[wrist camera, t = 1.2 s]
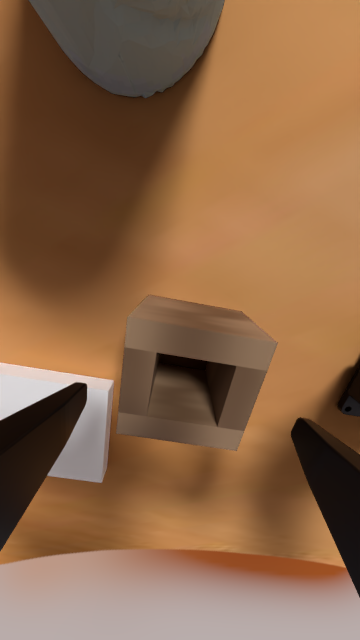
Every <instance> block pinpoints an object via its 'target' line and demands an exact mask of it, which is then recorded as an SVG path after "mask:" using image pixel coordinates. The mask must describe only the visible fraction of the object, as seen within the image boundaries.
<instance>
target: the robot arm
mask: <svg viewBox="0 0 360 640" xmlns="http://www.w3.org/2000/svg"><path fill="white" fill-rule="evenodd" d="M86 402H87V384H86V383H81V382H75V383H73V384H71V385H69V386H67V387H65V388H63V389H61V390H59V391H57V392H55V393H53V394H51V395H49V396H47V397H45V398H43V399H41V400H39V401H37V402H35V403H33V404H31V405H29V406H27V407H26V408H24V409H22V410H20V411H18V412H16V413H14V414H12V415H10V416H8V417H6V418H4V419H2V420H0V551H1V549H2V548H3V546H4V545H5V543H6V541H7V540H8V538H9V536H10V535H11V533H12V532H13V530H14V528H15V527H16V525H17V523H18V522H19V520H20V519H21V517H22V515H23V514H24V512H25V511H26V509H27V507H28V506H29V504H30V502H31V501H32V499H33V498H34V496H35V494H36V493H37V491H38V489H39V488H40V486H41V485H42V483H43V481H44V480H45V478H46V476H47V475H48V473H49V472H50V470H51V468H52V467H53V465H54V463H55V462H56V460H57V459H58V457H59V455H60V454H61V452H62V450H63V449H64V447H65V445H66V443H67V442H68V440H69V438H70V436H71V434H72V432H73V430H74V428H75V426H76V424H77V421H78V419H79V417H80V415H81V413H82V411H83V409H84V407H85V405H86ZM337 407H338V409H339V410H340V411H341V412H342V413H343V414H347V415H354V416H360V366H359V367H358V369H357V371H356V373H355V375H354V376H353V378H352V380H351V382H350V384H349V385H348V387H347V389H346V391H345V393H344V394H343V396H342V398H341V400H340V401H339V403H338V406H337ZM291 438H292V441H293V443H294V446H295V449H296V452H297V454H298V457H299V460H300V463H301V465H302V468H303V471H304V474H305V476H306V479H307V481H308V484H309V486H310V488H311V490H312V493H313V495H314V497H315V499H316V501H317V504H318V506H319V508H320V510H321V513H322V515H323V517H324V519H325V521H326V524H327V526H328V528H329V530H330V533H331V535H332V537H333V539H334V541H335V544H336V546H337V548H338V550H339V553H340V555H341V557H342V559H343V561H344V564H345V566H346V568H347V570H348V572H349V575H350V577H351V579H352V581H353V584H354V586H355V588H356V590H357V592H358V594H359V597H360V455H359V454H358V453H356V452H355V451H354V450H352V449H351V448H349V447H348V446H347V445H345V444H344V443H342V442H341V441H340V440H338V439H337V438H335V437H334V436H333V435H331V434H330V433H328V432H327V431H326V430H324V429H323V428H321V427H320V426H319V425H317V424H316V423H314V422H313V421H312V420H310V419H307V418H301V417H300V418H298V419H297V420H296V422H295V424H294V426H293V429H292V431H291Z"/></svg>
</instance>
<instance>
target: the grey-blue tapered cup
mask: <svg viewBox="0 0 360 640" xmlns="http://www.w3.org/2000/svg"><path fill="white" fill-rule="evenodd" d="M224 1H225V0H29V2H30V3H31V5H32V6H33V8H34V9H35V11H36V12H37V13H38V15H39V16H40V18H41V19H42V21H43V22H44V24H45V25H46V27H47V28H48V30H49V31H50V33H51V34H52V36H53V37H54V39H55V40H56V42H57V43H58V44H59V46H60V47H61V49H62V50H63V52H64V53H65V54H66V55H67V56H68V57H69V59H70V60H71V61H72V62H73V63H74V64H75V65H76V66H77V68H78V69H79V70H80V71H81V72H82V73H83V74H84V75H86V76H87V77H88V78H89V79H91V80H92V81H93V82H94V83H96V84H97V85H99V86H101V87H102V88H104V89H106V90H107V91H109V92H110V93H112V94H118V95H124V96H130V97H138V96H143V97H144V98H147V97H150V96H152V95H153V94H154V93H155V92H156V91H158V92H163V91H164V90H165V89H166V88H168V87H172V86H173V85H174V84H175V83H176V82H177V81H179V80H180V79H181V78H182V76H183V75H185V74H186V73H187V72H188V71H189V70H190V69H191V68H192V67H193V65H194V64H195V62H196V60H197V59H198V58H199V57H200V56H201V55H202V54H203V51H204V48H205V47H206V46H207V45H208V43H209V41H210V38H211V37H212V35H213V33H214V30H215V28H216V25H217V22H218V20H219V17H220V14H221V11H222V9H223V5H224Z"/></svg>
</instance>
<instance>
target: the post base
mask: <svg viewBox="0 0 360 640" xmlns="http://www.w3.org/2000/svg"><path fill="white" fill-rule="evenodd" d="M75 382H81V383H86V384H87V402H86V405H85V407H84V409H83V411H82V413H81V415H80V417H79V419H78V421H77V424H76V426H75V428H74V430H73V432H72V434H71V436H70V438H69V440H68V442H67V443H66V445H65V447H64V449H63V450H62V452H61V454H60V455H59V457H58V459H57V460H56V462H55V463H54V465H53V467H52V468H51V470H50V472H49V473H48V475H47V476H53V477H60V478H68V479H76V480H83V481H91V482H98V483H102V481H103V478H104V475H105V473H106V470H107V462H108V450H109V438H110V426H111V414H112V401H113V389H114V380H108V379H101V378H95V377H89V376H82V375H76V374H70V373H63V372H57V371H51V370H45V369H38V368H32V367H26V366H19V365H13V364H7V363H0V420H2V419H4V418H6V417H8V416H10V415H12V414H14V413H16V412H18V411H20V410H22V409H24V408H26V407H27V406H29V405H31V404H33V403H35V402H37V401H39V400H41V399H43V398H45V397H47V396H49V395H51V394H53V393H55V392H57V391H59V390H61V389H63V388H65V387H67V386H69V385H71V384H73V383H75Z"/></svg>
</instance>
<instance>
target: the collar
mask: <svg viewBox="0 0 360 640" xmlns="http://www.w3.org/2000/svg"><path fill="white" fill-rule="evenodd" d="M277 344H278V343H277V342H276V341H275V340H274V339H273V338H272V337H271V336H269V335H268V334H267V333H266V332H265V331H264V330H262V329H261V328H260V327H259V326H258V325H257V324H256V323H254V322H253V321H252V320H251V319H250V318H249V317H247V316H246V315H245V314H244V313H243V312H242V311H236V310H231V309H225V308H220V307H214V306H209V305H203V304H198V303H192V302H186V301H181V300H175V299H170V298H164V297H159V296H153V295H148V296H147V297H146V298H145V299H144V300H143V301H142V302H141V303H140V304H139V305H138V306H137V307H136V308H135V309H134V310H133V311H132V312H131V313H130V315H129V316H128V317H127V326H126V337H125V347H124V358H123V368H122V378H121V389H120V399H119V410H118V420H117V430H116V433H117V434H124V435H130V436H137V437H144V438H151V439H158V440H165V441H172V442H179V443H185V444H192V445H199V446H206V447H213V448H220V449H227V450H234V451H237V449H238V446H239V444H240V441H241V438H242V436H243V433H244V430H245V428H246V425H247V423H248V420H249V417H250V415H251V412H252V409H253V407H254V404H255V402H256V399H257V396H258V394H259V391H260V388H261V386H262V383H263V381H264V378H265V375H266V373H267V370H268V367H269V365H270V362H271V360H272V357H273V354H274V352H275V349H276V346H277ZM160 353H163V354H169V355H175V356H181V357H187V358H193V359H199V360H205V361H208V363H207V366H206V370H199V369H193V368H187V367H181V366H175V365H169V364H163V363H159V358H160Z"/></svg>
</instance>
